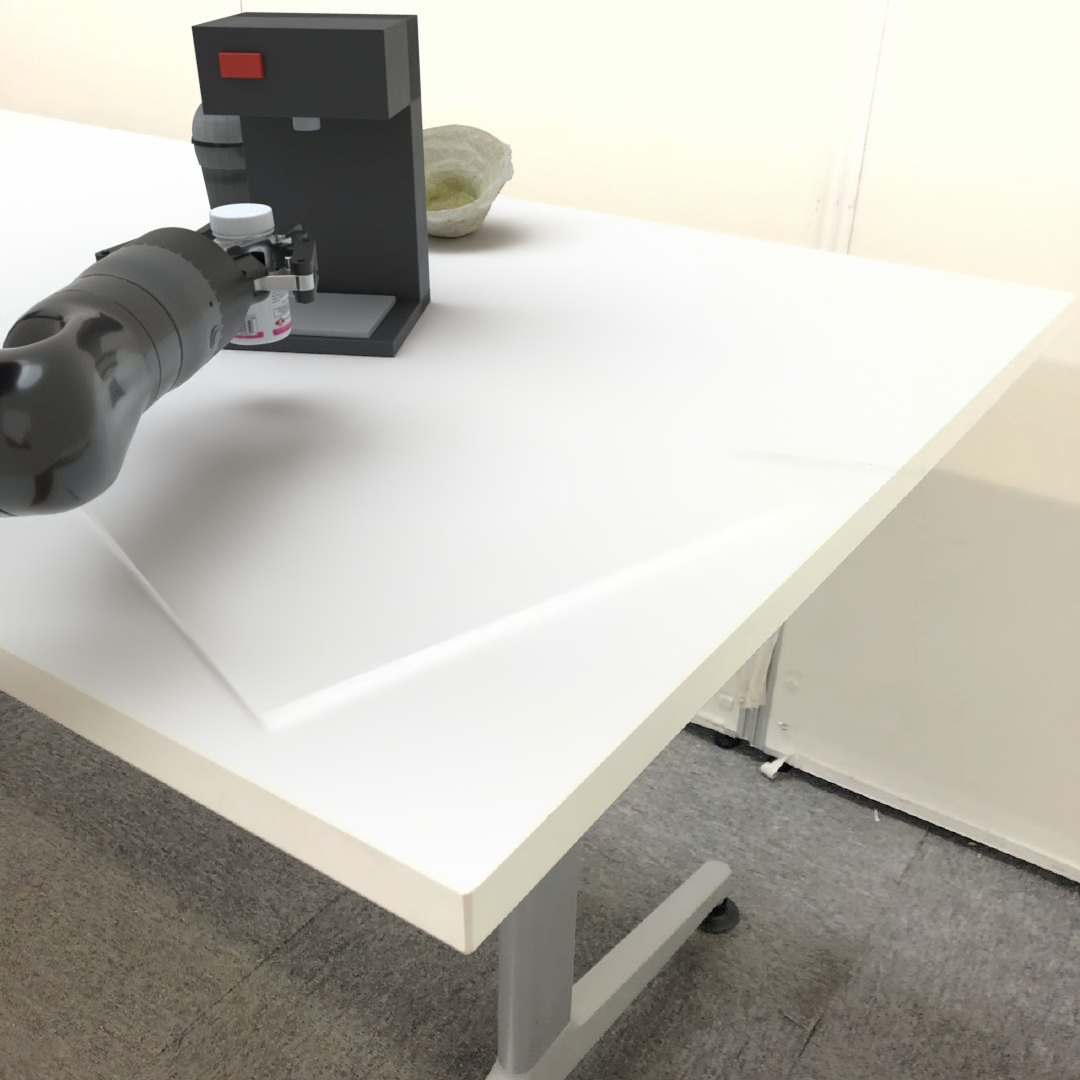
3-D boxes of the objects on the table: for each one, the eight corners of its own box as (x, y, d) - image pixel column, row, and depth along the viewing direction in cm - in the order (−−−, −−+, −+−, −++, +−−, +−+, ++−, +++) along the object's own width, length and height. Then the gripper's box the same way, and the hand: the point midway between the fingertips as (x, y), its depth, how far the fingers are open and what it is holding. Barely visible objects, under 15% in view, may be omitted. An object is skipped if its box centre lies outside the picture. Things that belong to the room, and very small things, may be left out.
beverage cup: (232, 278, 105) (200, 45, 95) (195, 262, 109) (161, 38, 99) (300, 263, 109) (276, 39, 99) (261, 248, 113) (235, 32, 103)
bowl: (354, 247, 114) (346, 144, 109) (401, 214, 126) (395, 120, 121) (496, 257, 111) (494, 152, 106) (530, 222, 123) (530, 126, 118)
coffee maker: (430, 300, 99) (417, 14, 88) (393, 357, 87) (372, 33, 76) (277, 294, 101) (244, 11, 89) (220, 348, 89) (173, 30, 77)
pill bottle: (274, 319, 80) (260, 198, 76) (303, 337, 76) (291, 211, 72) (209, 332, 77) (192, 207, 73) (237, 351, 74) (220, 221, 70)
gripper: (272, 250, 59) (358, 183, 74) (14, 241, 60) (149, 176, 75) (287, 385, 63) (366, 295, 77) (44, 373, 64) (167, 287, 79)
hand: (259, 237), depth 76 cm, fingers closed on pill bottle, 4 cm apart
